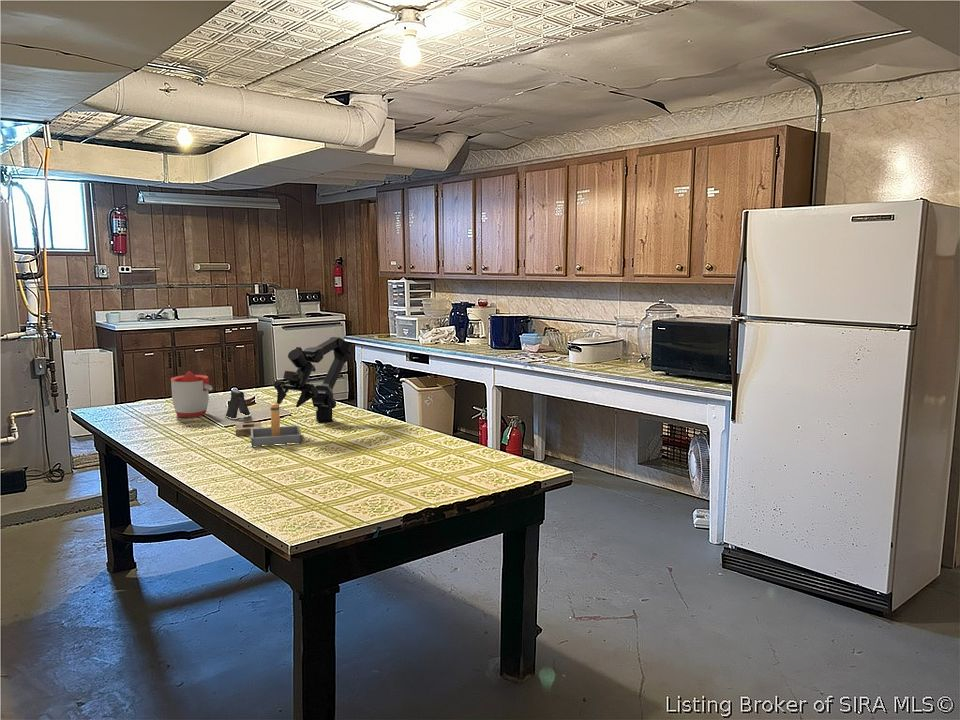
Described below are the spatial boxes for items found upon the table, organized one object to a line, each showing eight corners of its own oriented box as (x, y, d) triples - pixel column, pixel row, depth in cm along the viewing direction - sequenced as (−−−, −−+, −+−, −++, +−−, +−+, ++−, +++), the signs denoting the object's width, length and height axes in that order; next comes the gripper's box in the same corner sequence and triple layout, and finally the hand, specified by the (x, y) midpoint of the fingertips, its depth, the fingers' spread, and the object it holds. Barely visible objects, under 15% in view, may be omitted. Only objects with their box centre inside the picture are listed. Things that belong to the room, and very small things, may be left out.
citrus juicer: (206, 419, 302) (204, 374, 298) (166, 419, 301) (163, 374, 298) (219, 411, 317) (217, 368, 314) (181, 410, 317) (179, 367, 314)
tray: (298, 433, 282) (298, 425, 282) (301, 443, 269) (301, 435, 268) (250, 437, 276) (250, 428, 276) (251, 447, 263) (251, 438, 262)
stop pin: (276, 437, 275) (275, 403, 272) (282, 438, 273) (281, 404, 270) (269, 439, 272) (268, 404, 270) (275, 440, 270) (273, 405, 268)
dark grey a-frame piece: (232, 420, 302) (231, 393, 300) (225, 417, 306) (224, 391, 304) (251, 416, 308) (250, 390, 306) (244, 414, 312) (243, 388, 310)
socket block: (261, 427, 290) (260, 421, 290) (261, 434, 281) (261, 428, 281) (235, 429, 287) (235, 423, 287) (235, 435, 278) (235, 429, 278)
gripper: (274, 361, 283) (258, 392, 275) (313, 364, 276) (297, 397, 268) (287, 376, 292) (271, 407, 283) (324, 380, 285) (310, 412, 277)
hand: (287, 405), depth 278 cm, fingers open, 9 cm apart
